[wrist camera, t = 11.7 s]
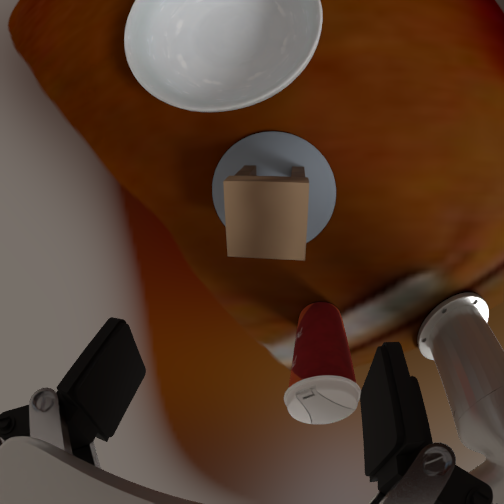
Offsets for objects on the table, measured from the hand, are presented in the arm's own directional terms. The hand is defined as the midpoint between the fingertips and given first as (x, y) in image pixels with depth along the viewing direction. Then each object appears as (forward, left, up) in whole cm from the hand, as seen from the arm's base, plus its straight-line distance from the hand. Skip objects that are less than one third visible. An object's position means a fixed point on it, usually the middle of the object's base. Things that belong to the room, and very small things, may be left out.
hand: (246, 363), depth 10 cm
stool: (+1, +1, -22) cm, 22 cm away
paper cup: (-15, +8, -23) cm, 28 cm away
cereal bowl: (+15, -9, -23) cm, 29 cm away
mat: (+1, +1, -22) cm, 22 cm away
